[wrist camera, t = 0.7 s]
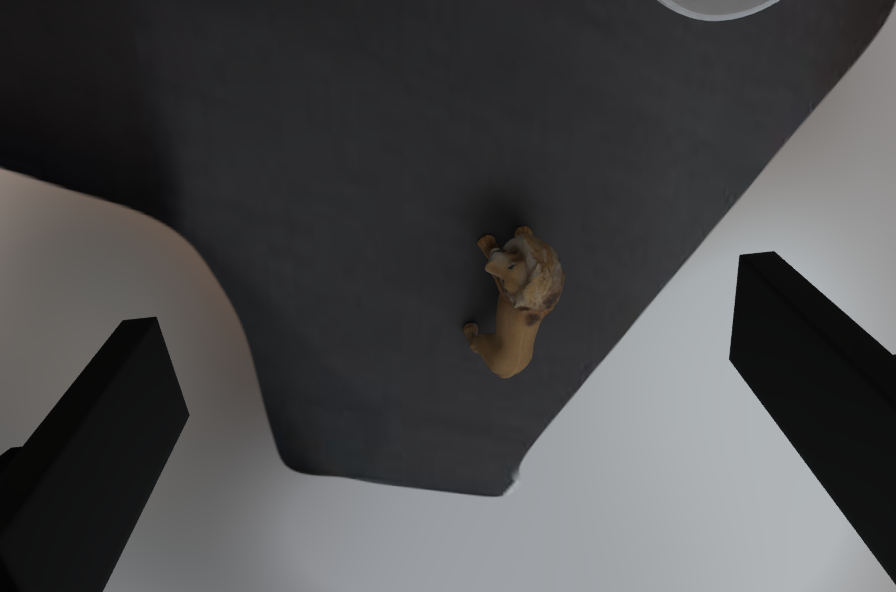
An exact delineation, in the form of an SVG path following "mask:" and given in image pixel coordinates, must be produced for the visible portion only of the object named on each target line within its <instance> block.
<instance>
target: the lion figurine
mask: <svg viewBox="0 0 896 592" xmlns="http://www.w3.org/2000/svg"><path fill="white" fill-rule="evenodd" d="M477 244H478V246H479V247H480V248H481V250H482V251H483V253H484V255H485V256H486V257H487V259H488V261H489V262H488V263H487V264H486V266H485V270H486V272H489V273H491V274H492V276H493V277H494V279H495V282H496V284H497V287H498V289H499V291H500V295H499V299H498V305H497V310H496V325H497V330H496V332H495V333H481V334H479V335H477V333H478V326H477V324H475V323H468V324H466V325H465V326H464V328H463V331H464V334H465V336H466V338H467V340H468V342H469V344H470V348H471V349H472V350H473V351H474V352H476V353H478V352H479V353H480V354H481V356H482V358H483V359H484V361H485V362H486V364H487V366H488V367H489V368H490V369H491V371H493V372H494V373H496V374H497V375H498V376H499V377H501V378H509V377H511V376H513V375H514V374H517V373H519V372H520V371H522V370H523V369H524V368H525V367H526V366H527V365H528V363H529V362H530V360H531V358H532V354H533V345H534V340H535V336H536V334H537V330H538V327H539V325H540V322H541V320H543V318H544V316H546V315H547V314H549V311H551V310H553V308H554V306H555V304H557V303H558V301H559V296H560V295H561V293H562V288H563V282H564V278H565V275H564V273H563V271H562V267H561V264H560V259H559V258H558V255H557V253H556V252H555V250H554V249H553V248H552V247H551V246H550V245H548V244H546V243H544V242H543V241H541V240H539V239H538V238H537V237H535V236H532V231H531V230H530V228H529V227H527V226H522V227H518V228H517V229H516V232H515V238H513V239H511V240H510V241H509V242H507V243H506V245H505V246H504V247H503V248H502V249H499V246H498V245H497V244H496V241H495V238H494V237H493V236H491V235H485V236H483V237H482V238H481V239H480V240H479V241H478V242H477Z"/></svg>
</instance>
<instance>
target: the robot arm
mask: <svg viewBox="0 0 896 592" xmlns="http://www.w3.org/2000/svg"><path fill="white" fill-rule="evenodd" d="M729 360H730V361H731V363H732V364H733V365H734V367H735V368H736V369H737V371H738V372H739V373H740V375H741V376H742V378H743V379H744V380H745V381H746V383H747V384H748V385H749V387H750V388H751V389H752V391H753V392H754V394H755V395H756V396H757V398H758V399H759V401H760V402H761V403H762V405H763V406H764V407H765V409H766V410H767V411H768V413H769V414H770V415H771V417H772V418H773V419H774V421H775V422H776V424H777V425H778V426H779V428H780V429H781V430H782V432H783V433H784V434H785V436H786V437H787V438H788V440H789V441H790V442H791V444H792V445H793V447H794V448H795V449H796V451H797V452H798V453H799V454H800V456H801V457H802V459H803V460H804V461H805V463H806V464H807V465H808V467H809V468H810V469H811V471H812V472H813V474H814V475H815V476H816V478H817V479H818V480H819V482H820V483H821V484H822V486H823V487H824V488H825V489H826V491H827V492H828V494H829V495H830V496H831V498H832V499H833V501H834V502H835V503H836V505H837V506H838V507H839V509H840V510H841V511H842V513H843V514H844V515H845V517H846V518H847V520H848V521H849V522H850V524H851V525H852V526H853V528H854V529H855V530H856V532H857V533H858V534H859V536H860V537H861V538H862V540H863V541H864V543H865V544H866V545H867V547H868V548H869V549H870V551H871V552H872V553H873V555H874V556H875V557H876V559H877V560H878V561H879V563H880V564H881V565H882V567H883V568H884V570H885V571H886V572H887V574H888V575H889V576H890V577H891V579H892V580H893V582H894V583H895V584H896V355H892V354H891V353H890V352H889V351H888V350H886V349H885V348H884V347H883V346H882V345H881V344H880V343H879V342H878V341H876V340H875V339H874V338H873V337H872V336H871V335H870V334H868V333H867V332H866V331H865V330H864V329H863V328H861V327H860V326H859V325H858V324H857V323H855V321H853V320H852V319H851V318H850V317H849V316H848V315H847V314H845V313H844V312H843V311H842V310H841V309H840V308H839V307H837V306H836V305H835V304H834V303H833V302H832V301H831V300H829V299H828V298H827V297H826V296H825V295H824V294H823V293H821V292H820V291H819V290H818V289H817V288H816V287H815V286H813V285H812V284H811V283H810V282H809V281H808V280H806V279H805V278H804V277H803V276H802V275H801V274H800V273H798V272H797V271H796V270H795V269H794V268H793V267H792V266H790V265H789V264H788V263H787V262H786V261H785V260H783V259H782V258H781V257H780V256H779V255H778V254H777V253H776V252H774V251H772V252H762V253H753V254H743V255H740V256H739V266H738V276H737V286H736V296H735V306H734V316H733V326H732V336H731V346H730V356H729ZM188 417H189V412H188V409H187V406H186V403H185V400H184V398H183V395H182V391H181V389H180V386H179V383H178V380H177V377H176V374H175V371H174V368H173V365H172V362H171V359H170V356H169V353H168V350H167V347H166V344H165V341H164V338H163V335H162V332H161V329H160V326H159V323H158V320H157V317H149V318H140V319H130V320H123V321H122V322H121V323H120V324H119V326H118V327H117V328H116V329H115V331H114V332H113V333H112V335H111V336H110V337H109V338H108V340H107V341H106V342H105V343H104V345H103V346H102V347H101V349H100V350H99V351H98V352H97V353H96V355H95V356H94V357H93V358H92V360H91V361H90V362H89V364H88V365H87V366H86V367H85V369H84V370H83V371H82V372H81V374H80V375H79V376H78V377H77V379H76V380H75V381H74V382H73V384H72V385H71V386H70V387H69V389H68V390H67V391H66V392H65V394H64V395H63V396H62V397H61V399H60V400H59V401H58V403H57V404H56V405H55V406H54V408H53V409H52V410H51V411H50V413H49V414H48V415H47V416H46V418H45V419H44V420H43V422H42V423H41V424H40V425H39V427H38V428H37V429H36V430H35V431H34V433H33V434H32V435H31V437H30V438H29V439H28V440H27V442H26V443H25V444H24V445H23V447H13V448H10V449H9V450H7V451H6V452H5V453H3V454H2V455H1V456H0V592H103V590H104V588H105V586H106V584H107V582H108V580H109V578H110V576H111V574H112V572H113V570H114V568H115V566H116V563H117V561H118V560H119V557H120V556H121V554H122V551H123V549H124V547H125V545H126V543H127V541H128V539H129V537H130V535H131V533H132V531H133V529H134V527H135V525H136V523H137V521H138V519H139V517H140V515H141V513H142V511H143V509H144V507H145V505H146V503H147V501H148V499H149V497H150V495H151V493H152V491H153V489H154V487H155V484H156V482H157V480H158V478H159V476H160V474H161V472H162V470H163V468H164V466H165V464H166V462H167V460H168V458H169V456H170V454H171V452H172V450H173V448H174V446H175V444H176V442H177V440H178V438H179V436H180V434H181V432H182V430H183V428H184V426H185V424H186V422H187V419H188Z"/></svg>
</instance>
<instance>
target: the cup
mask: <svg viewBox="0 0 896 592" xmlns="http://www.w3.org/2000/svg"><path fill="white" fill-rule="evenodd" d="M657 1H659V2H660V3H661V4H663V5H664V6H666V7H668V8H669V9H671V10H673V11H675V12H677V13H680V14H682V15H685V16H687V17H690V18H694V19H698V20H706V21H723V20H731V19H736V18H740V17H744V16H747V15H750V14H753V13H755V12H758V11H760V10H763V9H765V8H767V7H769V6H770V5H772V4H774V3H776V2H778V1H779V0H657Z"/></svg>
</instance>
